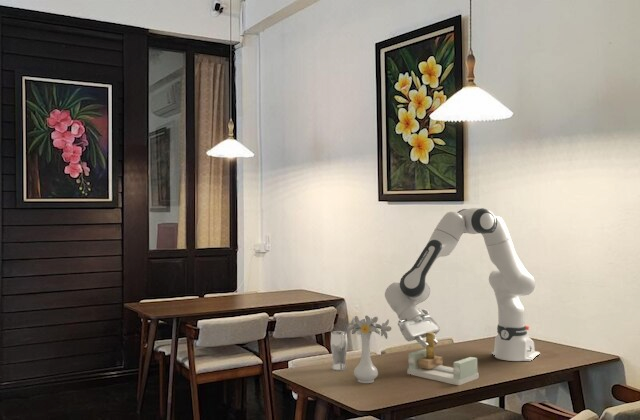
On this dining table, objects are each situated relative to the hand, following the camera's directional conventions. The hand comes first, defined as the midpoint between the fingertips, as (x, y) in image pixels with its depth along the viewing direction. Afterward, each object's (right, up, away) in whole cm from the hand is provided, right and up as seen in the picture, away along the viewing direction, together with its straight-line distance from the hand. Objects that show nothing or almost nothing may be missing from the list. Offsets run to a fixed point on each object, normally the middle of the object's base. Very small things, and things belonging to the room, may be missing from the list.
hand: (431, 345), depth 259 cm
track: (+4, -11, -3) cm, 12 cm away
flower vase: (-27, -12, -10) cm, 31 cm away
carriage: (0, -8, +1) cm, 8 cm away
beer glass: (-37, -12, +8) cm, 39 cm away
